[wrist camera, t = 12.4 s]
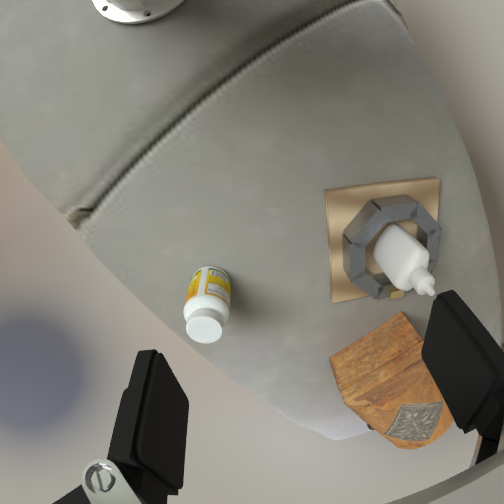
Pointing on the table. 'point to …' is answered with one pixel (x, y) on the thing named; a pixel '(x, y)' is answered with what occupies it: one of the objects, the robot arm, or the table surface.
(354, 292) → the square wooden board
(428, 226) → the gray octagonal ring
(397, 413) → the wooden box
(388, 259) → the eye dropper bottle
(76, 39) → the table surface
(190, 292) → the supplement bottle
